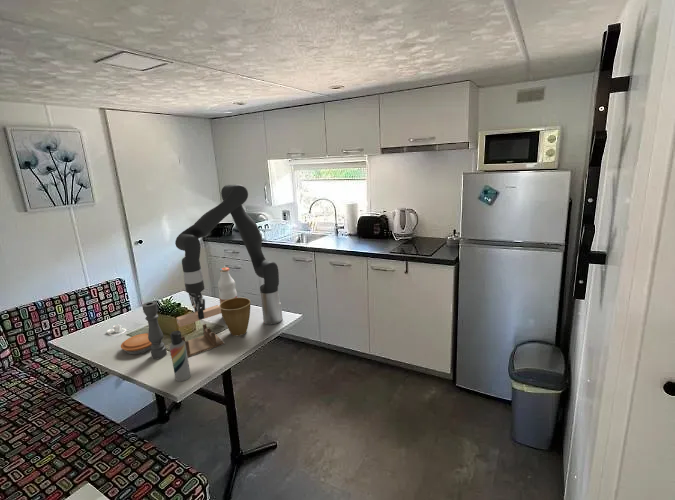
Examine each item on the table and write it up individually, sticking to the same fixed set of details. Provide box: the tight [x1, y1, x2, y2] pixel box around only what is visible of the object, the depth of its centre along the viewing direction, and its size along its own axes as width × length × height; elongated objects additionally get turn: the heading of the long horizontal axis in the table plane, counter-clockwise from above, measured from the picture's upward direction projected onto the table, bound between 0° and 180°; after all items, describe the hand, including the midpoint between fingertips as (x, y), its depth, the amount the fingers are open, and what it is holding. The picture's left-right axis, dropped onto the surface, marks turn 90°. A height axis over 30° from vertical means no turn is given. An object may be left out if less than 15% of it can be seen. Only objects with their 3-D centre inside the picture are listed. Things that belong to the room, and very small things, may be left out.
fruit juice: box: [217, 267, 238, 319], centre depth 197 cm, size 9×9×28 cm
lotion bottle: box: [169, 330, 192, 382], centre depth 142 cm, size 6×6×20 cm
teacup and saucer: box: [106, 323, 127, 337], centre depth 188 cm, size 9×8×4 cm
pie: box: [120, 332, 152, 355], centre depth 170 cm, size 16×16×5 cm
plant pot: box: [218, 297, 251, 337], centre depth 178 cm, size 15×15×16 cm
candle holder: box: [141, 301, 168, 360], centre depth 160 cm, size 6×6×25 cm
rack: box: [181, 323, 225, 358], centre depth 168 cm, size 20×14×7 cm
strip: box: [176, 304, 222, 327], centre depth 157 cm, size 18×4×3 cm, turn 130°
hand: (199, 317), depth 157 cm, fingers closed on strip, 3 cm apart
